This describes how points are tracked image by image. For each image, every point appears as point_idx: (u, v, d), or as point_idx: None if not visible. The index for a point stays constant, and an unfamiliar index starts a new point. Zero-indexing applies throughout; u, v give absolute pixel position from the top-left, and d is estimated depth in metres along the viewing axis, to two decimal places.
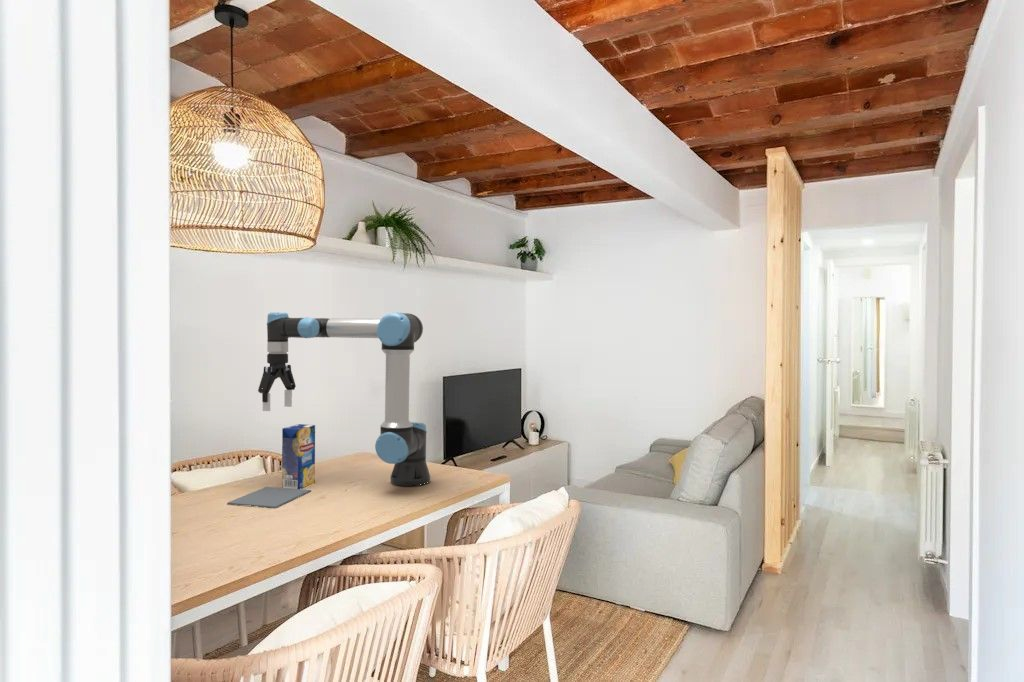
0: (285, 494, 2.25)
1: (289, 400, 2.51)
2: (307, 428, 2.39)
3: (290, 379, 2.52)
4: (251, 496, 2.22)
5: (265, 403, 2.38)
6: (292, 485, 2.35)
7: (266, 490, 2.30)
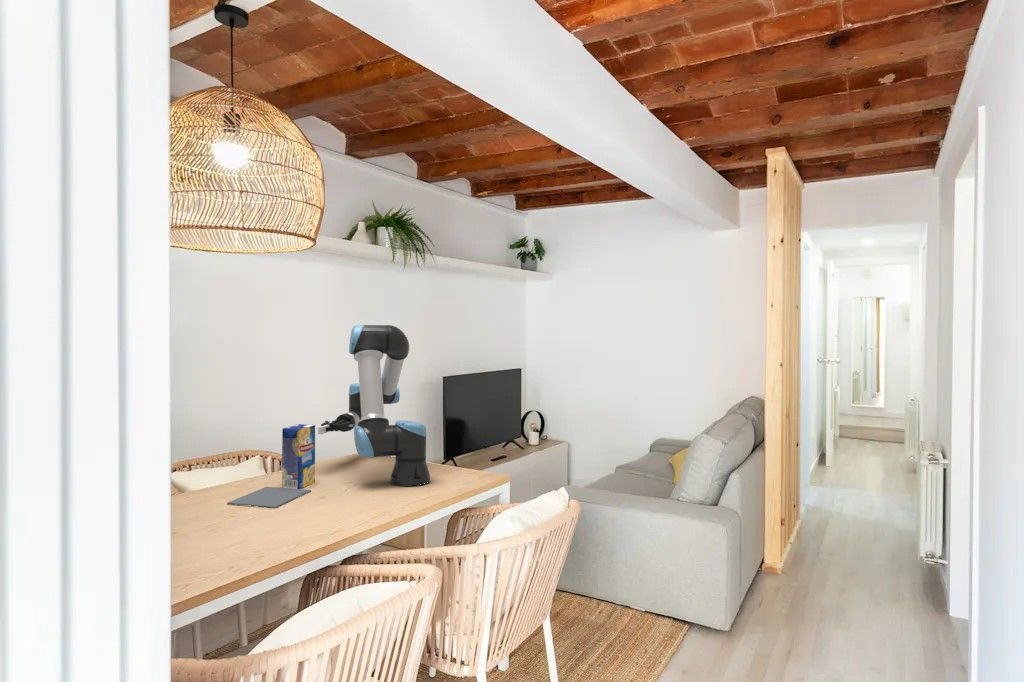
0: (285, 494, 2.25)
1: None
2: (307, 428, 2.39)
3: None
4: (251, 496, 2.22)
5: None
6: (292, 485, 2.35)
7: (266, 490, 2.30)
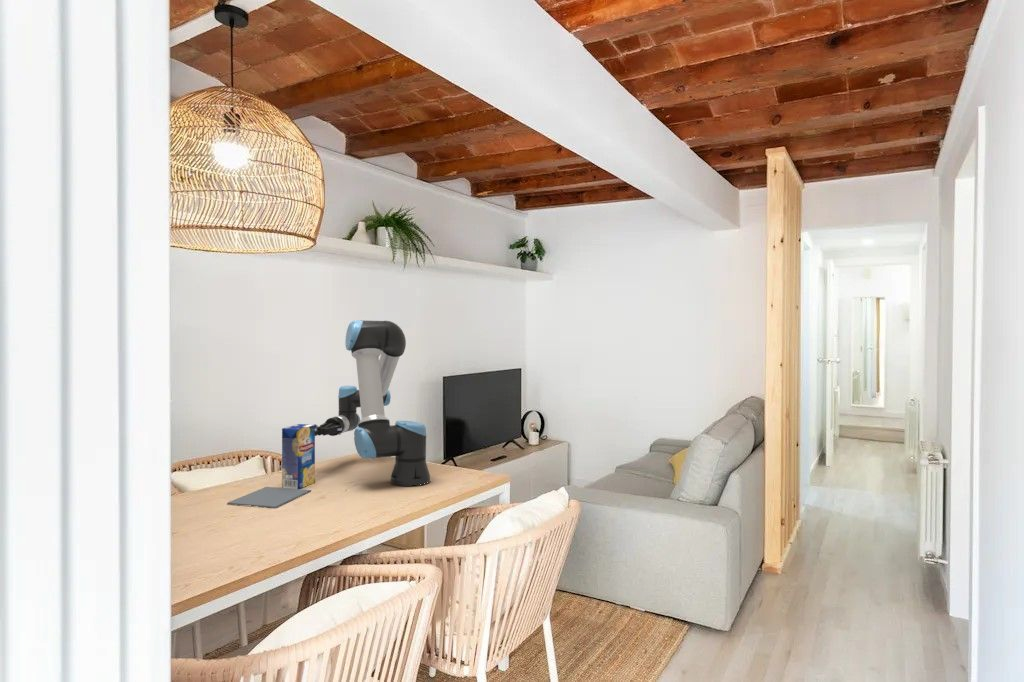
0: (285, 494, 2.25)
1: None
2: (307, 428, 2.39)
3: None
4: (251, 496, 2.22)
5: None
6: (292, 485, 2.35)
7: (266, 490, 2.30)
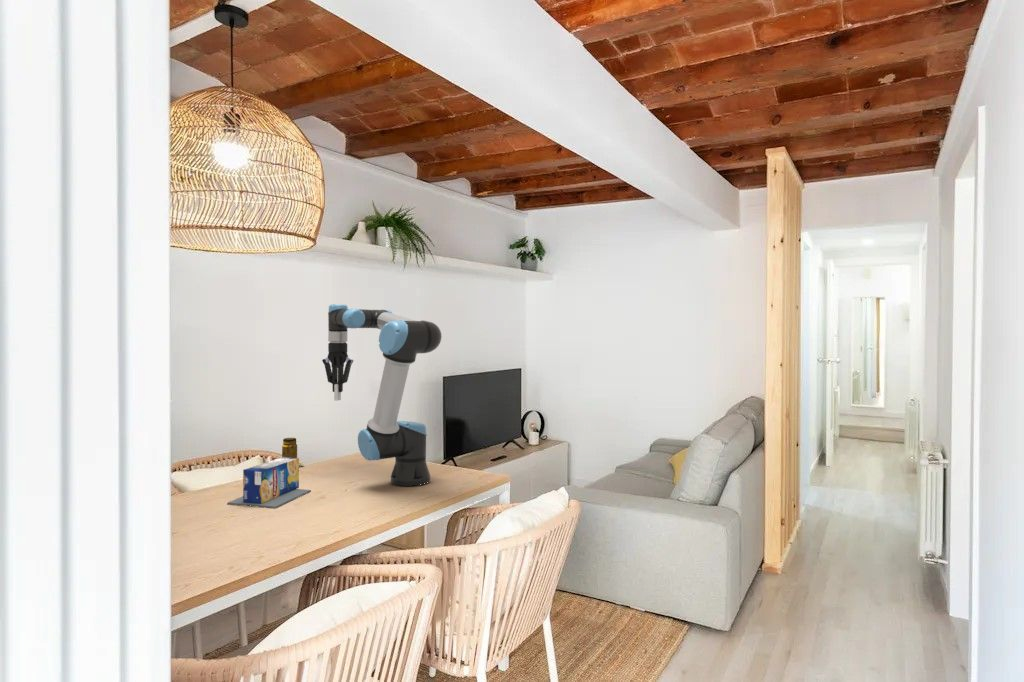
0: (285, 494, 2.25)
1: None
2: (262, 486, 2.13)
3: None
4: None
5: None
6: None
7: None
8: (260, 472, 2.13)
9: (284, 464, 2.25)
